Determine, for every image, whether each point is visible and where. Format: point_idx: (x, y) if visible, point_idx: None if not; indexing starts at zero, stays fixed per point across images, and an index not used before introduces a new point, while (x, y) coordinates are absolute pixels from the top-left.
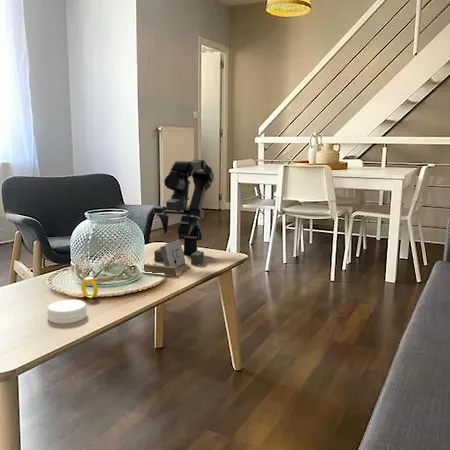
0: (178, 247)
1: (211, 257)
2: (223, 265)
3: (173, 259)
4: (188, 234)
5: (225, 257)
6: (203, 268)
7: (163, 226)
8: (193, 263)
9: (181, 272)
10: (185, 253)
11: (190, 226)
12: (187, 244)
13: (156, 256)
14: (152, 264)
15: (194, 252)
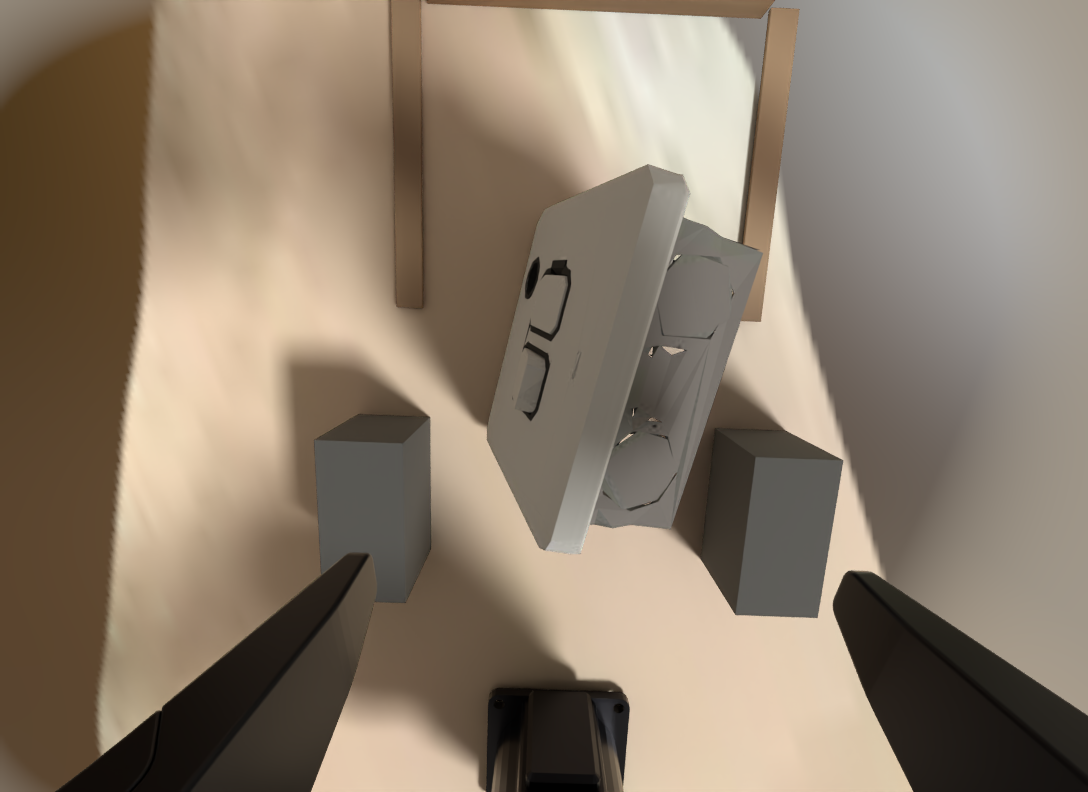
0: (537, 429)
1: None
2: (153, 478)
3: (545, 258)
4: (340, 568)
5: None
6: (278, 329)
7: (1027, 687)
8: (403, 419)
9: (407, 101)
10: (578, 692)
11: (163, 717)
12: (563, 774)
13: (788, 442)
14: (764, 290)
15: (402, 542)
